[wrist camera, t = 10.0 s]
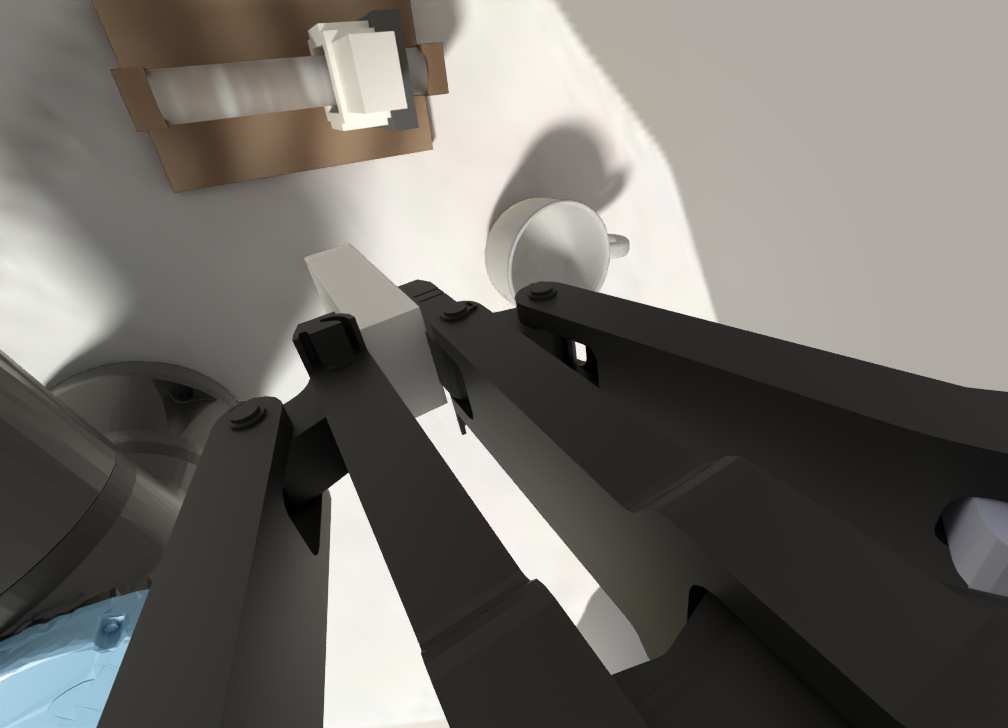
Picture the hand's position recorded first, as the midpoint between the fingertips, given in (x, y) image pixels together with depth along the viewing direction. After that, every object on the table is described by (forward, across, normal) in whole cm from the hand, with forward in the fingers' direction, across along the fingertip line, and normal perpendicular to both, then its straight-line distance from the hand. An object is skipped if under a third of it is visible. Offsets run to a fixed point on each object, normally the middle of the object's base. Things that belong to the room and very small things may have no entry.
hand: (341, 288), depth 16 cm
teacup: (+26, +22, -12) cm, 36 cm away
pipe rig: (+26, +4, +6) cm, 27 cm away
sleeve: (+24, +7, +6) cm, 26 cm away
